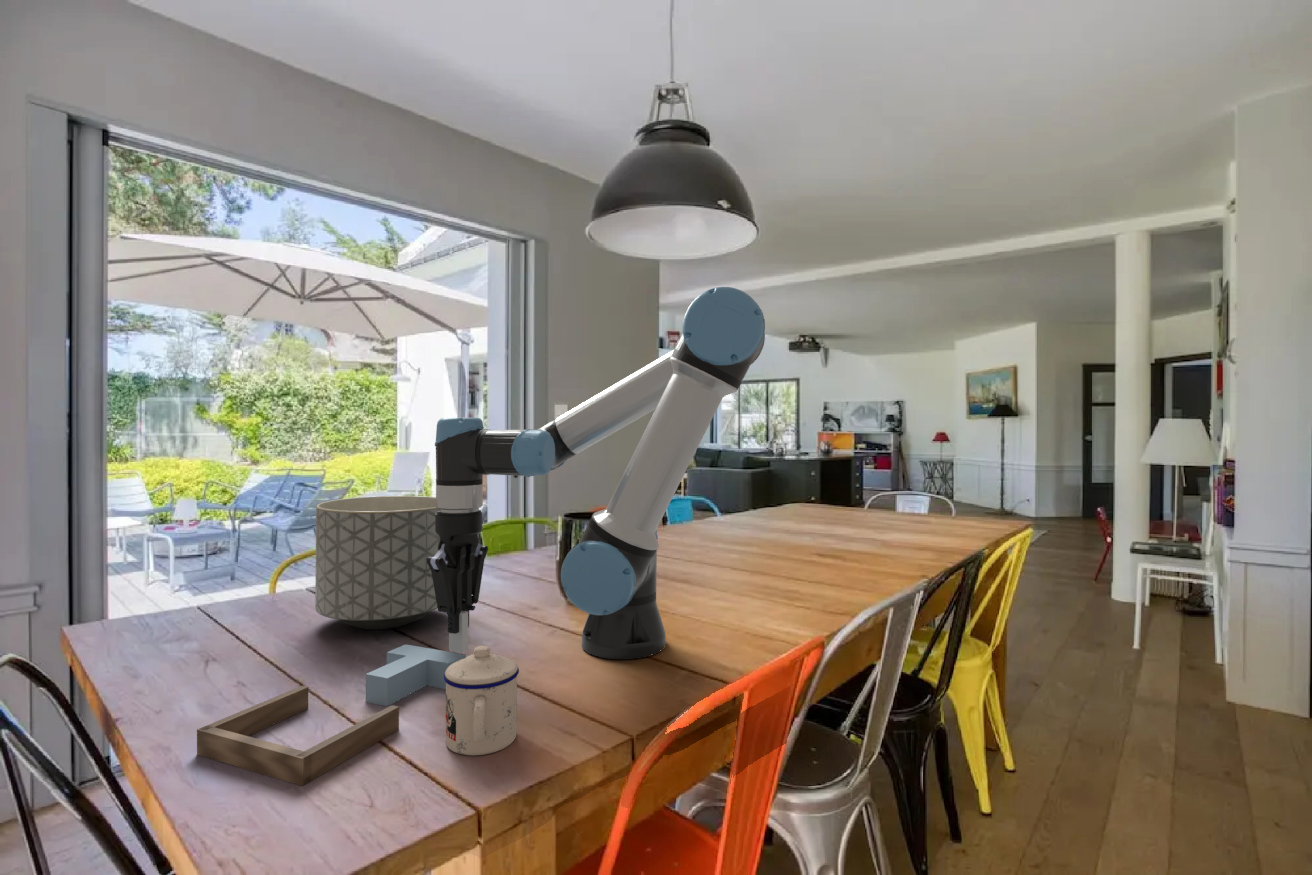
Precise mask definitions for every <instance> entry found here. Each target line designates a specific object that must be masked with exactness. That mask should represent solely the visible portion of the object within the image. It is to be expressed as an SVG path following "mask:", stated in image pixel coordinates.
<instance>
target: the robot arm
mask: <svg viewBox="0 0 1312 875" xmlns="http://www.w3.org/2000/svg"><path fill="white" fill-rule="evenodd" d="M765 331H766V321H765V317H764V313H763V310H762V309H761V306H760V305H759V304H758V303H757V302H756V300H755V299H753V297H752V296H750V294H748V293H746V292H745V291H742V290H741V289H738V288H735V287H730V286H719V287H712V288H710V289H707V290H705V291H703V292H701V293H699V295H698V296H696V297H695V299H693V300H692V302H691V303H690V305H689V306H688V307H687V309H686V312H685V314H684V318H683V320H682V332H681V335H680V336H679V338H678V340H677V342H676V344H675V346H674V349H672V350H670V351H669V352H667V353H665V354H664V355H662V356H660V357H658V358H657V359H655V360H653V361H652V362H650V363H648V364H646V365H645V366H643V367H642V368H640V369H638V370H636V371H635V372H632V373H631V374H629V375H628V376H626V377H624V378H622V379H621V380H619V381H618V382H616V383H614V384H613V385H610V386H609V387H607V388H606V389H604V390H603V391H600V392H599V393H597V394H595V395H594V396H592V397H590V398H588V399H587V400H586V401H583V402H582V403H580V404H579V405H577V406H575V407H573V408H572V409H570V410H568V411H566V412H565V413H564V414H561V415H560V416H558V417H556V418H555V419H554V420H551V421H549V422H548V423H546V424H545V425H542V426H541V427H540V428H537V429H530V428H529V429H487V428H485V427H484V423H483V422H484V421H483V420H482V419H481V418H479V417H459V416H457V417H454V416H452V417H450V416H449V417H448V416H447V417H445V416H444V417H442V418H441V417H440V418H439V420H437V423H436V431H435V432H436V433H435V442H434V447H435V475H436V477H435V497H436V508H438V509H440V511H437V513H436V514H435V531H436V533H437V534H438V535H439V536H440V541H439V545H438V552H437V553H436V555H435V556H434V557H428V558H427V564H428V566H429V568H430V569H431V573H432V579H433V584H434V590H435V596H436V602H437V607H438V609H437V611H438V612H442V613H445V614H447V632H448V652H453V653H459V654H464V653H465V652H467V651H468V650H469V627H470V611H474V610H475V609H476V606H475V605H474V604H477V603H479V598H480V591H481V585H482V580H483V578H482V577H483V570H484V566H485V559H486V557H487V554H488V551H489V547H488V545H483V544H481V543H480V539H479V536H478V534H481V533H482V531H483V512H482V510H481V509H480V508H482V507H483V506H484V503H483V502H484V498H483V497H484V492H483V490H484V488H483V486H484V485H483V483H484V482H483V481H484V479H483V478H484V477H483V476H484V475H485V476H487V475H488V476H490V475H496V476H522V477H526V478H529V477H530V478H531V477H538V476H541V477H542V476H547V475H548V474H549V473H550V472H551V471H554V470H556V469H559V468H560V467H561V466H564V464H566V462H567V461H568V460H570V459H571V458H573V457H575V456H576V455H578V454H579V453H582V452H583V451H585V450H586V449H588V448H590V447H591V446H593V445H595V444H597V443H598V442H601V441H602V440H604V439H606V438H607V437H609V436H611V435H613V434H614V433H616V432H618V431H620V430H622V429H623V428H625V427H627V426H629V425H630V424H632V423H634V422H636V421H637V420H639V419H641V418H643V417H644V416H646V415H648V414H650V413H651V412H653V413H652V415H651V418H650V420H649V421H648V423H647V426H646V428H645V430H644V432H643V434H642V435H641V438H640V440H639V441H638V443H637V446H636V448H635V450H634V452H633V453H632V456H631V458H630V460H629V462H628V464H627V466H626V468H625V470H624V472H623V475H622V476H621V478H620V480H619V482H618V484H617V486H616V488H615V489H614V493H613V494H612V496H611V498H610V500H609V502H608V504H607V507H606V508H605V509H601V510H598V511H596V512H595V511H594V513H592V515H591V517H590V520H589V521H588V523H587V526H586V528H585V530H584V531H583V534H582V535H581V537H580V540H579V542H578V543H577V544H576V545H575V546H573V547H572V548H571V549H570V550H569V551H568V552H567V554H566V556H565V558H564V560H563V562H562V564H561V568H560V569H561V570H560V583H561V586H562V589H563V591H564V594H565V595H566V597H567V598H568V600H569V601H570V603H571V604H572V605H574V606H575V607H576V608H578V610H581V611H582V612H585V613H586V614H588V615H587V617H586V621H585V623H584V625H583V626H584V627H583V629H582V632H581V633H582V634H581V648H582V649H583V651H584V650H585V653H587V654H589V655H591V654H592V656H594V655H595V657H597V656H598V658H603V659H610V660H635V659H634V658H638V659H642V658H641V657H644V658H646V657H645V656H648V657H650V656H649V655H651V654H655V653H657V652H659V651H660V650H662V649H663V648H664V646H665V645H666V629H665V627H664V623H663V621H662V617H661V614H660V611H659V608H658V604H657V570H658V569H657V565H658V564H657V558H658V556H657V555H658V554H657V552H658V551H657V550H658V549H659V547H660V546H659V541H658V540H659V536H658V533H657V531H658V530H657V529H658V528H659V525H660V524H661V521H662V519H663V517H664V515H665V514H666V511H667V509H668V507H669V506H670V504H671V502H672V499H673V497H674V495H675V494H676V491H677V490H678V488H679V486H680V483H681V482H682V480H683V478H684V476H685V474H686V472H687V470H688V467H689V466H690V464H691V461H692V460H693V458H694V455H695V454H696V451H697V449H698V447H700V444H701V442H702V440H703V438H704V436H705V434H706V431H707V430H708V428H709V426H710V424H711V422H712V420H713V418H714V416H715V414H716V412H717V411H718V408H719V406H720V404H721V403H722V400H723V398H724V397H726V396H728V395H731V394H734V393H737V391H738V390H739V389H740V386H741V384H742V382H743V381H744V378H745V377H746V374H747V373H748V370H749V368H750V367H751V365H753V364H754V363H755V361H756V360H758V358H759V357H760V355H761V353H762V351H763V348H764V345H765V341H766V337H765V335H766V332H765ZM665 647H666V646H665ZM664 649H665V648H664ZM664 649H663V650H664ZM663 650H662V651H663ZM659 653H660V652H659ZM657 654H658V653H657ZM655 655H656V654H655Z"/></svg>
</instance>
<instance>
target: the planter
mask: <svg viewBox="0 0 1312 875" xmlns="http://www.w3.org/2000/svg"><path fill="white" fill-rule="evenodd" d="M437 511H440V509H438V508H436V496H425V495H424V496H423V495H422V496H420V495H380V496H379V495H378V496H376V495H375V496H359V497H349V498H339V499H334V500H328V501H323V502H320V503H318V504H316V506H315V582H314V583H315V584H314V585H315V593H314V594H315V595H314V598H315V599H314V600H315V601H314V604H315V606H314V607H315V609H314V610H315V611H316V613H317V614H318V615H320V616H323V617H325V618H329V619H333V620H338V621H340V622H341V623H343V624H346V625H348V626H351V627H355V628H359V629H366V630H389V629H390V630H391V629H395V628H400V627H403V626H406V625H409V624H411V623H414V622H416V621H418V620H420V619H422V618H423V617H425V616H427V615H428V614H429V613H431V612H432V611H435V610H438V607H437V602H436V596H435V590H434V584H433V579H432V573H431V569H430V568H429V566H428V564H427V558H428V557H434V556H435V555H436V553H437V552H438V545H439V541H440V536H439V535H438V534H437V533H436V531H435V514H436V513H437Z"/></svg>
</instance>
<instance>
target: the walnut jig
mask: <svg viewBox="0 0 1312 875" xmlns="http://www.w3.org/2000/svg"><path fill="white" fill-rule="evenodd" d="M303 710H304V711H306V710H309V686H306V685H300V686H298V687H296V688H293V689H291V690H288V691H286V692H284V693H282V694H279V695H276V696H274V697H272V698H269V699H267V700H263V702H260V703H258V704H255V705H252V706H249V707H248V708H245V709H243V710H241V711H238V712H236V713H233V714H231V715H228V716H227V717H223V718H221V719H219V720H217V721H214V722H211V723H210V724H207V725H204V726H202V727H200V728H197V729H196V755H197V756H201V757H204V758H208V759H211V760H214V761H218V762H221V763H224V764H228V765H231V766H233V767H238V768H241V769H244V770H247V771H251V772H254V773H258V774H261V775H265V776H268V777H271V778H274V779H278V780H281V781H284V782H288V783H291V784H294V785H299V786H300V787H301V786H302V787H303V786H305V785H307V784H308V783H310V782H311V781H313V780H315V779H317V778H319V777H321V775H324V774H325V773H327V772H328V771H330V770H333V769H334V768H335V767H337V766H339V765H341V764H342V763H344V762H346V761H347V760H349V759H352V758H353V757H355V756H356V755H358V754H359V753H361V752H362V751H365V750H367V749H368V748H370V747H372V746H373V745H375V744H377V743H378V742H380V741H382V740H384V739H386V738H387V737H389V736H390V735H393V734H394V733H396V732H397V731H400V706H397V705H393V704H391V705H389V706H386V708H383V709H382V710H380V711H378V712H377V713H374V714H372V715H370V716H368V717H367V718H365V719H363V720H361V721H359V722H357V723H355V724H353V725H352V726H350V727H348V728H346V729H344V730H342V731H340V732H338V733H336V734H334V735H332V736H331V737H329V738H327V739H324V740H323V741H321V742H319V743H317V744H315V745H314V746H312V747H310V748H307V749H306V750H300V749H297V748H293V747H290V746H285V745H281V744H278V743H275V742H271V741H266V740H263V739H259V738H255V737H253V736H252V735H254V734H256V733H258V732H260V731H263V730H264V729H267V728H269V727H271V726H274V725H275V724H274V723H276V724H278V723H280V722H282V721H284V720H286V719H288V718H290V717H293V716H295V715H297V714H299V713H301V711H302V712H303ZM294 714H295V715H294Z"/></svg>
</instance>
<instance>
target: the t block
mask: <svg viewBox="0 0 1312 875" xmlns="http://www.w3.org/2000/svg"><path fill="white" fill-rule="evenodd" d="M466 657H467V654H466V653H465V654H464V653H460V652H454V651H446V650H441V649H435V648H429V647H423V646H417V645H411V644H406V643H405V644H403V645H401V646H398V647H396V648H393V649H391V650H389V651H386V664H385V665H383V666H380V667H378V668H376V669H374V670H371V671H370V672H369V671H368V672H367V673H365V703H369V704H375V705H379V706H383V707H384V706H385V707H389V706H391V705H393V704H394V703H396V701H397V702H399V701H400V699H401V698H403V697H404V698H406V697H408V696H410V695H411V694H410V693H412V694H414V693H415V691H416V692H418V691H419V690H418V689H420V690H421V688H422V689H423V687H424V688H426V687H427V686H426V685H429V686H428V687H432V686H434V687H433V688H437V689H443V690H446V682H445V680H444V675H445V672H446V670H447V668H448V667H449V666H450V665H451V664H453V663H454V662H456V661H459V660H461V659H465V658H466ZM417 690H418V691H417ZM409 694H410V695H409ZM407 695H408V696H407ZM404 698H403V699H404ZM401 700H402V699H401Z"/></svg>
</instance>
